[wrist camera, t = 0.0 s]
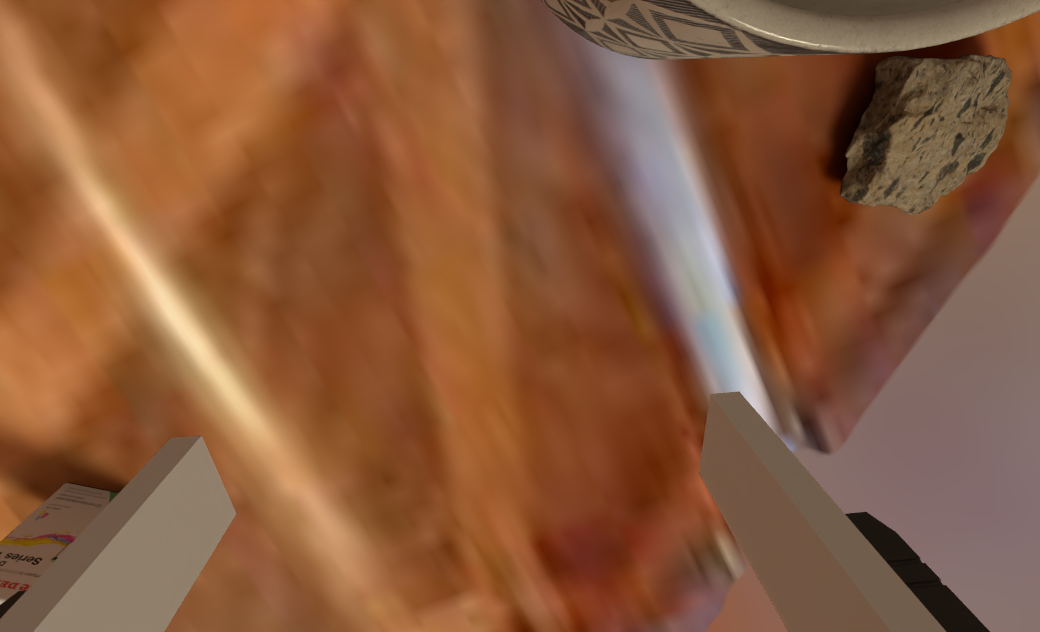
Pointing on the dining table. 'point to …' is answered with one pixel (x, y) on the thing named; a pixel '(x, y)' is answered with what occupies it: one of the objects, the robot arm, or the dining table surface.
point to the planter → (780, 25)
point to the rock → (926, 129)
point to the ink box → (47, 535)
